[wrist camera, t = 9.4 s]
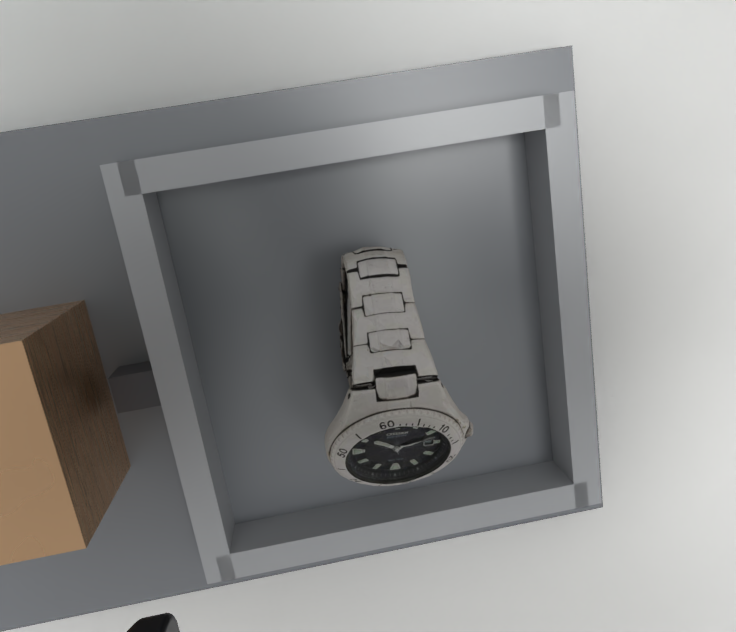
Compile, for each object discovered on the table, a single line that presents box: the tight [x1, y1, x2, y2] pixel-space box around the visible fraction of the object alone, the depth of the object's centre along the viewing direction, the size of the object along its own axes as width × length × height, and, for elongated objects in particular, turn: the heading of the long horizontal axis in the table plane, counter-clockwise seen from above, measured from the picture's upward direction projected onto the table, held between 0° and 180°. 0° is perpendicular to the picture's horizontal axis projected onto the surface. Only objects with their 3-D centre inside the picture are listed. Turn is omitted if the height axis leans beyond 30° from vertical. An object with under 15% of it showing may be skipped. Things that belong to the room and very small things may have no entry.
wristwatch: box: [325, 247, 473, 486], centre depth 16 cm, size 4×6×5 cm, turn 4°
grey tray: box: [0, 46, 603, 632], centre depth 16 cm, size 14×20×5 cm
